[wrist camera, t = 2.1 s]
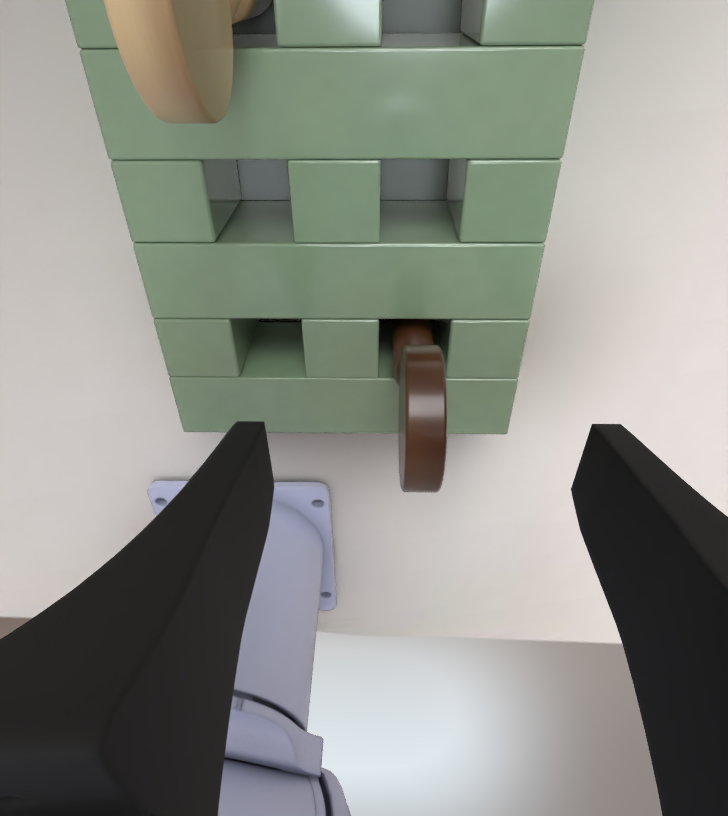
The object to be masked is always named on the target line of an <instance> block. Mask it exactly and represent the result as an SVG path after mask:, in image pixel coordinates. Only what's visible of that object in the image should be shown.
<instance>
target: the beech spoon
mask: <svg viewBox="0 0 728 816" xmlns="http://www.w3.org/2000/svg"><path fill="white" fill-rule="evenodd" d="M270 3H271V0H104V4H105V8H106V11H107V15H108V19H109V22H110V25H111V28H112V32H113V35H114V38H115V41H116V44H117V47H118V49H119V52H120V55H121V58H122V60H123V62H124V65H125V67H126V70H127V72H128V74H129V77H130V79H131V81H132V83H133V85H134V87H135V89H136V91H137V92H138V94H139V96H140V98H141V99H142V101H143V102H144V104H145V105H146V106H147V108H148V109H149V110H150V111H151V112H152V114H153V115H154V116H156V117H157V118H158V119H159V120H162V121H164V122H166V123H169V124H215V123H217V122H219V121H221V120H222V119H223V118H224V116H225V114H226V112H227V109H228V106H229V101H230V96H231V89H232V79H233V35H232V24H234V23H237V22H240V21H243V20H246V19H249V18H252V17H255V16H258V15H260V14H262V13H263V12H264V11H265V10H266V9H267V8H268V7H269V5H270Z"/></svg>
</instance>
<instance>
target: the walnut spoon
mask: <svg viewBox="0 0 728 816" xmlns="http://www.w3.org/2000/svg"><path fill="white" fill-rule="evenodd" d="M392 343H393V369H394V378H395V381H396V383H397V384H398V386H399V473H400V485H401V489H402V491H403V492H438V491H439V490H440V488H441V485H442V481H443V476H444V470H445V460H446V446H447V387H446V373H445V364H444V358H443V354H442V350H441V348H440V346H438V345H434V344H433V337H432V330H431V324H430V319H392Z"/></svg>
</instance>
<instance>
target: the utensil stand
mask: <svg viewBox="0 0 728 816" xmlns="http://www.w3.org/2000/svg"><path fill="white" fill-rule="evenodd" d="M65 2H66V5H67V9H68V13H69V16H70V20H71V24H72V27H73V31H74V34H75V38H76V42H77V45H78V47H79V48H81V50H80V56H81V59H82V63H83V67H84V70H85V74H86V78H87V81H88V85H89V88H90V92H91V96H92V99H93V103H94V107H95V110H96V114H97V117H98V121H99V125H100V128H101V132H102V136H103V139H104V143H105V147H106V150H107V154H108V157H109V159H111V160H112V161H111V167H112V171H113V174H114V178H115V181H116V185H117V189H118V192H119V196H120V200H121V203H122V207H123V211H124V214H125V218H126V221H127V225H128V229H129V232H130V236H131V239H132V241H133V242H134V244H133V247H134V251H135V254H136V258H137V262H138V265H139V269H140V273H141V276H142V280H143V283H144V287H145V291H146V294H147V298H148V302H149V305H150V309H151V312H152V316H153V317H154V324H155V327H156V331H157V335H158V338H159V342H160V345H161V349H162V353H163V356H164V360H165V364H166V367H167V371H168V375H169V376H170V377H169V379H170V383H171V387H172V390H173V394H174V397H175V401H176V405H177V408H178V412H179V416H180V419H181V423H182V427H183V430H184V432H228V431H229V430H230V428H231V427H232V426H233V425H234V424H235V423H236V422H237V421H264V422H265V428H266V432H269V433H399V386H398V384H397V383H396V381H395V378H394V369H393V343H392V322H379V319H436V323H430V324H431V330H432V337H433V344H434V345H438V346H440V348H441V350H442V354H443V358H444V364H445V373H446V387H447V434H507V432H508V427H509V422H510V417H511V412H512V407H513V402H514V397H515V392H516V387H517V382H518V379H517V377H518V375H519V371H520V366H521V361H522V356H523V351H524V346H525V341H526V336H527V331H528V326H529V318H530V316H531V311H532V306H533V301H534V296H535V292H536V287H537V282H538V277H539V272H540V267H541V262H542V257H543V252H544V247H545V245H544V242H545V240H546V237H547V232H548V227H549V222H550V217H551V212H552V207H553V202H554V197H555V192H556V187H557V182H558V177H559V172H560V167H561V159H560V158H562V156H563V154H564V149H565V144H566V139H567V134H568V129H569V124H570V119H571V114H572V109H573V104H574V99H575V94H576V89H577V84H578V79H579V74H580V69H581V64H582V59H583V54H584V46H582V45H583V44H584V43H585V42H586V39H587V34H588V29H589V24H590V19H591V14H592V9H593V4H594V0H463V1H462V14H461V26H460V30H461V32H462V33H383V34H382V27H383V0H273V6H274V17H275V29H276V34H250V35H233V79H232V89H231V96H230V101H229V106H228V109H227V112H226V114H225V116H224V118H223V119H222V120H221V121H219V122H217V123H215V124H169V123H166V122H164V121H162V120H159V119H158V118H157V117H156V116H154V115H153V114H152V112H151V111H150V110H149V109H148V108H147V106H146V105H145V104H144V102H143V101H142V99H141V98H140V96H139V94H138V92H137V91H136V89H135V87H134V85H133V83H132V81H131V79H130V77H129V74H128V72H127V70H126V67H125V65H124V62H123V60H122V58H121V55H120V52H119V49H118V47H117V44H116V41H115V38H114V35H113V32H112V28H111V25H110V22H109V19H108V15H107V11H106V8H105V4H104V0H65ZM260 159H288V162H287V165H288V177H289V188H290V199H291V201H241V191H240V184H239V177H238V170H237V162H236V160H260ZM381 159H449V171H448V183H447V195H446V198H447V201H381ZM259 318H269V319H302V320H301V322H259Z"/></svg>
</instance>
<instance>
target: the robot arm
mask: <svg viewBox="0 0 728 816" xmlns="http://www.w3.org/2000/svg"><path fill="white" fill-rule="evenodd" d="M571 491H572V496H573V501H574V505H575V510H576V514H577V518H578V522H579V526H580V530H581V533H582V536H583V539H584V541H585V544H586V547H587V549H588V552H589V555H590V557H591V560H592V563H593V565H594V568H595V570H596V573H597V576H598V578H599V581H600V583H601V586H602V589H603V591H604V594H605V596H606V599H607V602H608V604H609V607H610V609H611V612H612V614H613V617H614V620H615V622H616V625H617V628H618V631H619V634H620V637H621V640H622V643H623V647H624V650H625V654H626V658H627V661H628V665H629V668H630V673H631V676H632V680H633V683H634V688H635V692H636V696H637V700H638V703H639V708H640V712H641V716H642V720H643V724H644V729H645V733H646V737H647V742H648V746H649V751H650V756H651V760H652V765H653V770H654V774H655V779H656V784H657V788H658V794H659V799H660V804H661V810H662V815H663V816H728V517H727V516H726V515H725V514H723V513H722V512H721V511H720V510H718V509H717V508H716V507H715V506H713V505H712V504H711V503H710V502H708V501H707V500H706V499H705V498H704V497H702V496H701V495H700V494H699V493H698V492H697V491H695V490H694V489H693V488H692V487H691V486H690V485H688V484H687V483H686V482H685V481H684V480H683V479H681V478H680V477H679V476H678V475H677V474H676V473H675V472H674V471H672V470H671V469H670V468H669V467H668V466H667V465H666V464H665V463H664V462H662V461H661V460H660V459H659V458H658V457H657V456H656V455H655V454H654V453H652V452H651V451H650V450H649V449H648V448H647V447H646V446H645V445H644V444H643V443H641V442H640V441H639V440H638V439H637V438H636V437H635V436H634V435H633V434H631V433H630V432H629V431H628V430H627V429H626V428H624V427H623V426H622V425H621V424H592V426H591V429H590V432H589V436H588V439H587V442H586V445H585V448H584V451H583V454H582V457H581V460H580V463H579V466H578V469H577V472H576V476H575V479H574V482H573V485H572V488H571ZM148 496H149V498H150V501H151V504H152V507H153V509H154V512H155V515H156V517H155V518H154V519H153V520H152V521H151V522H150V523H149V524H148V525H147V526H146V527H145V528H144V529H143V530H142V531H141V532H140V533H139V534H138V535H137V536H136V537H135V538H134V539H133V540H132V541H131V542H129V543H128V544H127V545H126V546H125V547H124V548H123V549H122V550H121V551H120V552H118V553H117V554H116V555H115V556H114V557H113V558H111V559H110V560H109V561H108V562H107V563H105V564H104V565H103V566H102V567H101V568H99V569H98V570H97V571H96V572H95V573H93V574H92V575H91V576H90V577H88V578H87V579H86V580H85V581H83V582H82V583H81V584H80V585H78V586H77V587H76V588H75V589H73V590H72V591H71V592H69V593H68V594H66V595H65V596H64V597H62V598H61V599H59V600H58V601H57V602H55V603H54V604H52V605H51V606H50V607H48V608H47V609H45V610H44V611H43V612H41V613H40V614H38V615H37V616H35V617H34V618H32V619H31V620H29V621H28V622H26V623H25V624H24V625H22V626H20V627H19V628H17V629H16V630H14V631H13V632H11V633H10V634H8V635H7V636H5V637H3V638H2V639H0V816H351V815H350V811H349V808H348V805H347V803H346V799H345V796H344V793H343V790H342V787H341V785H340V783H339V782H338V779H337V778H336V776H335V775H334V774H333V773H332V772H330V771H329V770H326V769H324V768H321V764H322V751H323V738H322V737H320V736H316V735H313V734H310V733H308V732H307V724H308V714H309V703H310V692H311V682H312V671H313V661H314V650H315V640H316V629H317V619H318V610H332V609H334V608H335V607H336V605H337V596H336V581H335V566H334V551H333V536H332V521H331V506H330V491H329V487H328V486H327V485H326V484H324V483H320V482H274V480H273V473H272V467H271V461H270V454H269V448H268V441H267V435H266V428H265V422H264V421H237V422H236V423H235V424H234V425H233V426H232V427H231V428H230V430H229V431H228V432H227V434H226V435H225V436H224V438H223V439H222V440H221V442H220V443H219V444H218V446H217V447H216V448H215V449H214V451H213V452H212V453H211V455H210V456H209V457H208V458H207V460H206V461H205V462H204V463H203V465H202V466H201V467H200V468H199V469H198V471H197V472H196V473H195V474H194V475H193V476H192V478H191V479H190V480H189V481H154V482H152V483H151V484H150V486H149V488H148ZM161 498H163V499H161ZM316 500H321V501H316Z"/></svg>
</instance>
